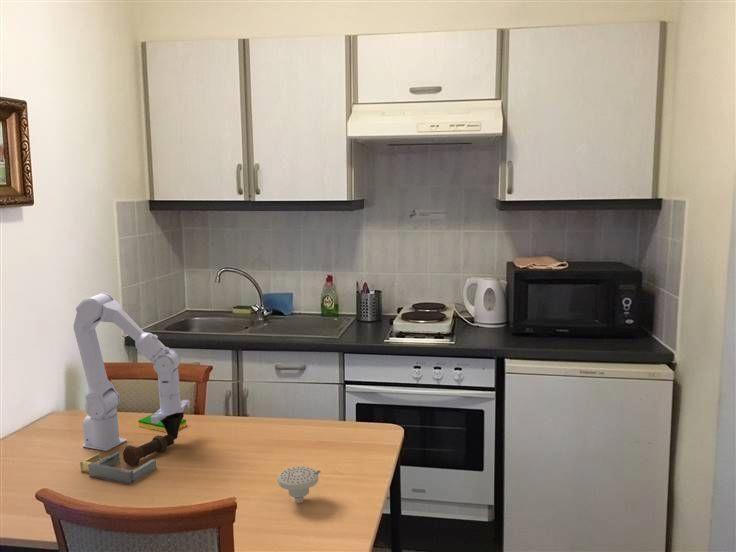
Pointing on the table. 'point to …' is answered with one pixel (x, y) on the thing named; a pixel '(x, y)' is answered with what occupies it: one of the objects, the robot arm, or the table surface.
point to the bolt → (146, 449)
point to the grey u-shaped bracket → (119, 470)
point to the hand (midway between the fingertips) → (173, 438)
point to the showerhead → (298, 481)
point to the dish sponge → (159, 426)
